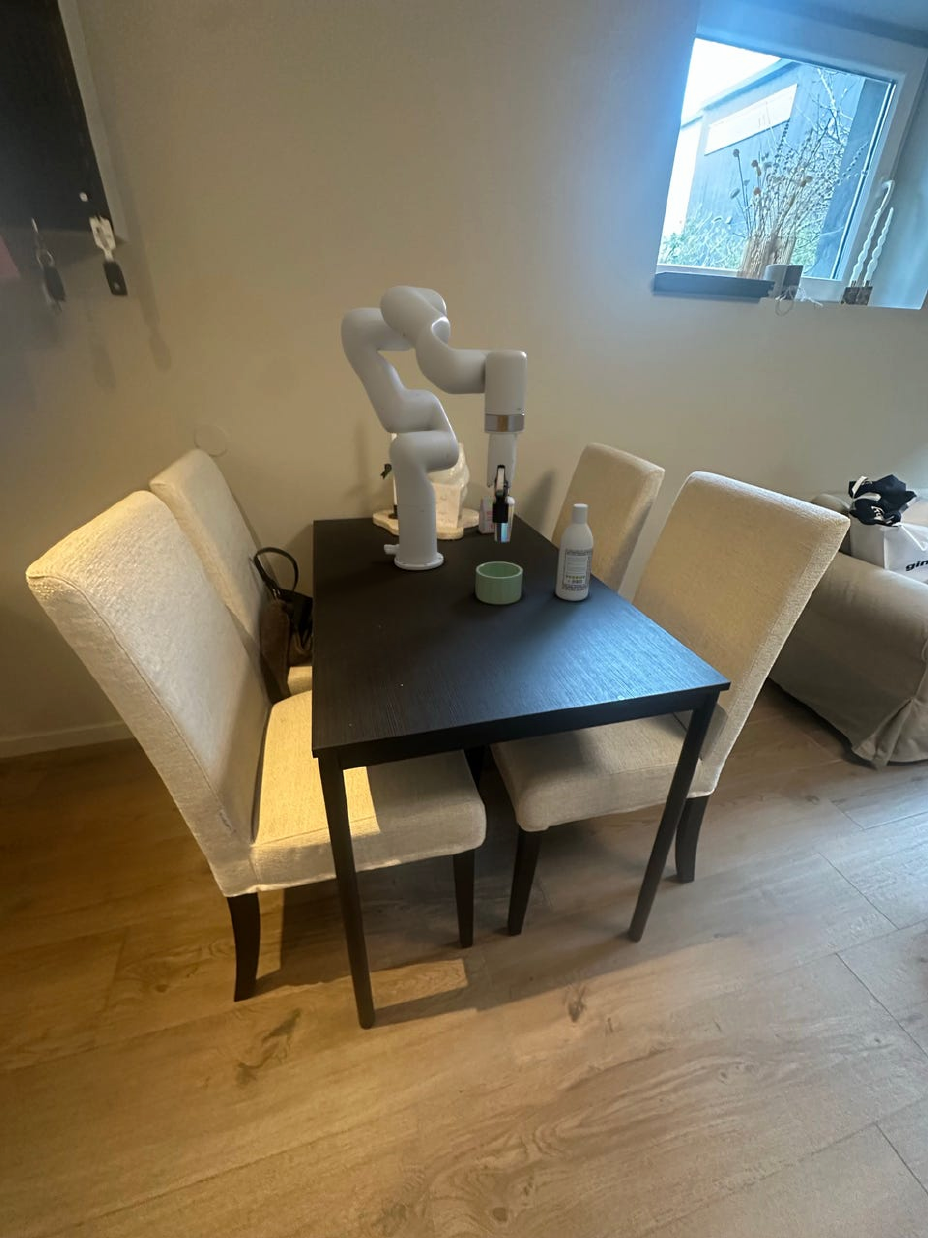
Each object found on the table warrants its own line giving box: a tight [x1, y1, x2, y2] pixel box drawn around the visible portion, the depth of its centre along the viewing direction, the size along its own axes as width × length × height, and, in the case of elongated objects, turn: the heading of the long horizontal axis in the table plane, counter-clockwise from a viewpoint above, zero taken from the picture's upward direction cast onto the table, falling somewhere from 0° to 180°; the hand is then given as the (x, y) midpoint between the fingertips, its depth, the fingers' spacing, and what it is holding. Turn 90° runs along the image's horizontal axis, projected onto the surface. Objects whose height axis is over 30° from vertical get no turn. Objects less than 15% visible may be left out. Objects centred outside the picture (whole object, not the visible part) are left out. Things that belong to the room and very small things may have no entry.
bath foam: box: [555, 503, 595, 602], centre depth 105 cm, size 7×7×20 cm
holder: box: [475, 560, 524, 605], centre depth 109 cm, size 10×10×6 cm
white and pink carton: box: [478, 497, 494, 534], centre depth 151 cm, size 4×7×10 cm, turn 109°
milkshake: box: [488, 493, 516, 543], centre depth 102 cm, size 5×5×10 cm
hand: (501, 518), depth 102 cm, fingers closed on milkshake, 4 cm apart
